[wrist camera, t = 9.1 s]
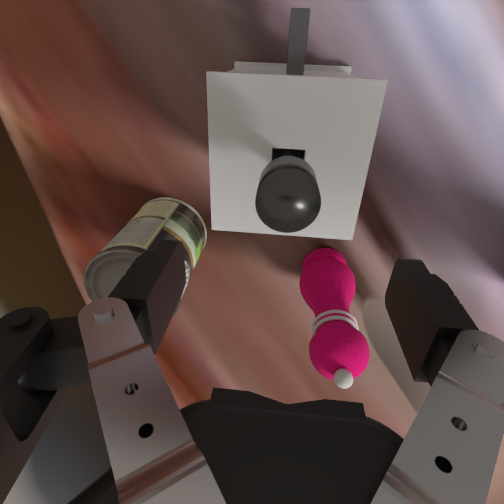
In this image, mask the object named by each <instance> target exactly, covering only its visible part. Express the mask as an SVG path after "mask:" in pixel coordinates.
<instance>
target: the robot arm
mask: <svg viewBox="0 0 504 504" xmlns="http://www.w3.org/2000/svg"><path fill="white" fill-rule="evenodd" d="M185 282H186V269H185V258H184V247H183V242H182V241H178V240H165V239H162V240H161V241H160V242H159V244H158V245H157V247H156V248H155V250H154V251H146V252H145V253H143V254H142V255H140V256H138V257H137V258H136V259H135V261H134V262H133V263H132V265H131V266H130V268H129V269H128V270H127V271H126V273H125V275H124V276H123V277H122V278H121V280H120V281H119V282H118V284H117V285H116V286H115V288H114V289H113V291H112V292H111V293H110V295H109V296H108V297H107V298H102V299H99V300H96V301H93V302H91V303H90V304H88V305H86V306H85V307H84V308H83V309H82V310H81V311H80V313H79V315H78V316H72V317H65V318H58V319H50V317H49V315H48V312H47V311H46V310H45V309H43V308H40V307H26V308H21V309H18V310H15V311H12V312H10V313H8V314H6V315H5V316H3V317H2V318H0V504H3V502H4V500H5V499H6V497H7V495H8V493H9V491H10V490H11V488H12V487H13V485H14V483H15V481H16V480H17V478H18V476H19V474H20V473H21V471H22V469H23V468H24V466H25V464H26V462H27V461H28V459H29V457H30V455H31V454H32V452H33V450H34V448H35V447H36V445H37V443H38V441H39V440H40V438H41V436H42V435H43V433H44V431H45V429H46V428H47V426H48V424H49V422H50V421H51V419H52V417H53V416H54V414H55V412H56V410H57V409H58V407H59V405H60V403H61V402H62V400H63V398H64V396H65V395H66V393H67V391H68V390H69V388H70V387H75V386H81V385H86V384H92V387H93V391H94V395H95V400H96V404H97V408H98V412H99V416H100V420H101V424H102V429H103V433H104V437H105V441H106V446H107V450H108V454H109V458H110V462H111V467H110V468H109V469H107V470H106V471H105V472H104V473H103V474H101V475H100V476H99V477H98V478H97V479H96V480H95V481H93V482H92V483H91V484H90V485H89V486H87V487H86V488H85V489H84V490H83V491H82V492H80V493H79V494H78V495H77V496H76V497H75V498H74V499H72V500H71V501H70V502H69V503H68V504H485V503H486V499H487V496H488V492H489V488H490V484H491V480H492V476H493V472H494V468H495V464H496V460H497V456H498V453H499V449H500V445H501V441H502V437H503V433H504V342H503V341H501V340H500V339H498V338H497V337H495V336H493V335H491V334H488V333H486V332H483V331H479V329H478V328H477V326H476V325H475V323H474V322H473V320H472V319H471V318H470V316H469V315H468V313H467V312H466V310H465V309H464V307H463V306H462V304H460V302H459V300H458V299H457V297H456V296H454V293H453V291H452V290H451V288H450V287H449V286H448V284H447V283H446V282H444V281H443V280H442V279H441V278H439V277H438V276H437V275H435V274H430V272H429V271H428V269H427V268H426V266H425V265H424V263H423V262H422V260H418V259H405V258H398V259H397V260H396V262H395V265H394V268H393V271H392V275H391V278H390V281H389V284H388V287H387V290H386V295H385V305H386V309H387V311H388V314H389V317H390V319H391V322H392V324H393V327H394V329H395V332H396V335H397V337H398V340H399V343H400V345H401V348H402V350H403V353H404V356H405V358H406V361H407V364H408V366H409V369H410V371H411V374H412V376H413V379H414V381H418V382H428V383H429V384H430V386H431V388H430V390H429V392H428V394H427V396H426V398H425V400H424V402H423V404H422V406H421V408H420V410H419V411H418V413H417V415H416V417H415V419H414V421H413V423H412V425H411V427H410V429H409V431H408V433H407V435H406V436H405V438H404V439H403V438H402V437H401V436H399V435H398V434H397V433H396V432H394V431H393V430H391V429H390V428H389V427H387V426H385V425H383V424H382V423H380V422H378V421H376V420H374V419H372V418H369V417H366V416H365V411H364V407H363V403H356V402H347V401H337V400H327V399H324V400H316V401H309V402H302V403H295V404H284V403H281V402H278V401H275V400H272V399H270V398H267V397H264V396H261V395H258V394H255V393H253V392H250V391H241V390H232V389H222V388H213V391H212V395H211V399H209V400H203V401H200V402H196V403H193V404H191V405H188V406H186V407H184V408H182V409H180V410H179V408H178V406H177V404H176V401H175V399H174V397H173V395H172V393H171V390H170V388H169V386H168V384H167V382H166V380H165V377H164V375H163V373H162V371H161V369H160V367H159V364H158V362H157V360H156V358H155V356H154V354H155V355H156V352H157V350H158V348H159V346H160V343H161V341H162V339H163V336H164V334H165V332H166V330H167V327H168V325H169V323H170V320H171V318H172V316H173V313H174V311H175V309H176V307H177V304H178V302H179V300H180V297H181V295H182V293H183V291H184V288H185Z"/></svg>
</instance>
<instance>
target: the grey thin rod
mask: <svg viewBox="0 0 504 504" xmlns="http://www.w3.org/2000/svg"><path fill="white" fill-rule="evenodd" d="M304 155H305V150H300V149H283V148H272V161H271V162H270V163H269V164H268V165H267V166H266V167H265V168H264V169H263V171H262V173H261V176H260V179H259V184H258V189H257V193H256V199H255V207H256V211H257V214H258V216H259V218H260V219H261V221H262V222H263V223H264V224H265V225H266V226H268V227H269V228H271V229H273V230H275V231H278V232H283V233H292V232H297V231H300V230H302V229H305V228H306V227H308V226H309V225H310V224H311V223H312V222H313V221H314V220H315V219H316V217H317V216H318V214H319V211H320V208H321V196H320V191H319V187H318V183H317V179H316V175H315V172H314V170H313V169H312V167H311V166H310V165H309V164H308V163H307V162H306V161H304Z"/></svg>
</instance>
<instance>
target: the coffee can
mask: <svg viewBox="0 0 504 504" xmlns="http://www.w3.org/2000/svg"><path fill="white" fill-rule="evenodd" d="M162 239H165V240H178V241H182V242H183V247H184V258H185V269H186V282H185V288H186V286H187V284H188V282H189V279H190V277H191V275H192V272H193V270H194V267H195V265H196V263H197V260H198V258H199V256H200V254H201V251H202V249H203V248H204V246H205V243H206V240H207V230H206V226H205V223H204V221H203V219H202V217H201V216H200V214H199V213H198V212H197V211H196V210H195V209H194V208H193V207H192V206H190V205H189V204H187V203H186V202H184V201H182V200H179V199H176V198H171V197H160V198H156V199H152V200H150V201H149V202H147V203H146V204H144V205H143V206H142V207H141V209H140V210H139V212H138V213H137V214H136V215H135V216H134V217H133V218H132V219H131V220H130V221H129V222H128V223H127V224H126V225H125V227H124V228H123V229H122V230H121V231H120V232H119V233H118V234H117V235H116V236H115V237H114V238H113V239H112V240H111V241H110V242H109V244H108V245H107V246H106V247H105V248H104V249H103V250H102V251H101V252H100V253H99V254H97V255H96V256H95V257H93V258H92V259H91V260H90V262H89V263H88V265H87V266H86V269H85V272H84V286H85V289H86V292H87V294H88V296H89V298H90V299H91V301H92V302H93V301H96V300H99V299H102V298H107V297H108V296H109V295H110V293H111V292H112V291H113V289H114V288H115V286H116V285H117V284H118V282H119V281H120V280H121V278H122V277H123V276H124V275H125V273H126V271H127V270H128V269H129V268H130V266H131V265H132V263H133V262H134V261H135V259H136V258H137V257H138V256H140V255H142V254H143V253H145V252H146V251H154V250H155V248H156V247H157V245H158V244H159V242H160V241H161V240H162ZM185 288H184V291H185ZM184 291H183V293H184ZM183 293H182V295H181V297H180V300H179V302H178V304H177V307H176V309H175V311H174V313H173V316H174V315H175V314H176V312H177V310H178V308H179V305H180V302H181V298H182V296H183ZM173 316H172V317H173Z"/></svg>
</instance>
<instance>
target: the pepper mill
mask: <svg viewBox="0 0 504 504" xmlns="http://www.w3.org/2000/svg"><path fill="white" fill-rule="evenodd" d="M299 284H300V290H301V294H302V296H303V298H304V300H305V302H306V303H307V305H308V306H309V307H310V308H311V309H312V310H313V312H314V313H315V317H316V318H315V319H314V321H313V323H312V335H313V337H312V339H311V341H310V345H309V354H310V359H311V361H312V364H313V366H314V367H315V369H316V370H317V371H318V372H319V373H320V374H321V375H323V376H324V377H326V378H328V379H331V380H334V381H335V383H336V385H337V386H338V387H340V388H343V389H345V388H349V387H350V386H351V385H352V383H353V379H354V378H356V377H357V376H359V375H360V374H362V372H363V371H364V370H365V369H366V367H367V365H368V362H369V346H368V343H367V341H366V338H365V337H364V336H363V335H362V333H361V332H360V331H359V328H358V324H357V321H356V319H355V318H354V317H353V316H352V315H351V314H350V312H349V307H350V304H351V302H352V300H353V297H354V294H355V287H356V285H355V278H354V275H353V272H352V271H351V269H350V268H349V267H348V266H347V264H346V260H345V258H344V256H343V255H342V254H341V253H340V252H338V251H337V250H335V249H331V248H319V249H316V250H313V251H312V252H310V253H309V254H308V255H307V256H306V257H305V258H304V260H303V263H302V274H301V277H300V283H299Z"/></svg>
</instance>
